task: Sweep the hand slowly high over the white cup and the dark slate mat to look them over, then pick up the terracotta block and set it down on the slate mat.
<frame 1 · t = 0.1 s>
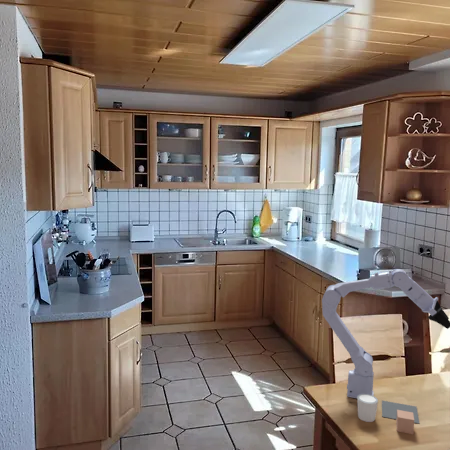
hand: (448, 323, 154), 32 cm above the table, tool tilted 50°, fingers open, 7 cm apart
terracotta block: (404, 429, 144), on the table
white cup: (366, 418, 150), on the table
slate mat: (399, 411, 154), on the table
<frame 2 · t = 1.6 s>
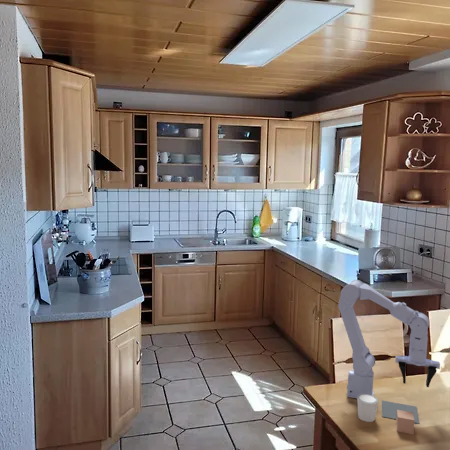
hand: (415, 384, 155), 9 cm above the table, tool pointing down, fingers open, 7 cm apart
nothing on the table moved.
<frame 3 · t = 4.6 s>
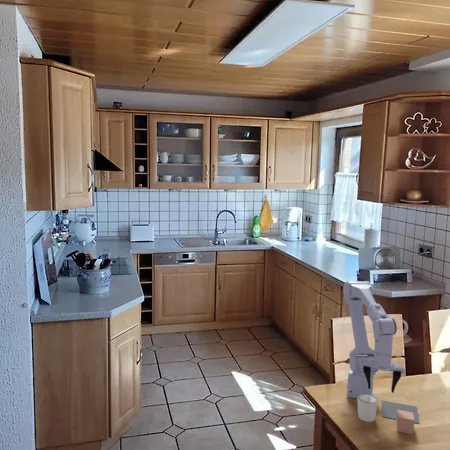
hand: (380, 389, 151), 9 cm above the table, tool pointing down, fingers open, 7 cm apart
nothing on the table moved.
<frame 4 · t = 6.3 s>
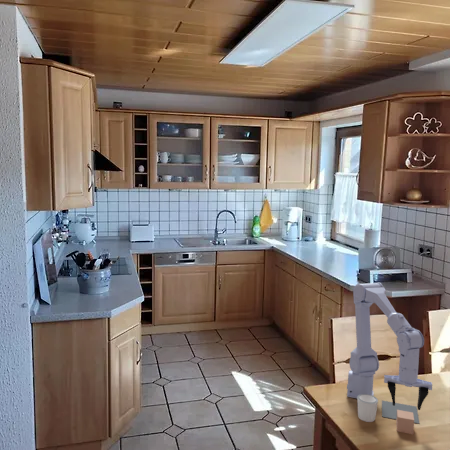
hand: (406, 406, 143), 8 cm above the table, tool pointing down, fingers open, 7 cm apart
nothing on the table moved.
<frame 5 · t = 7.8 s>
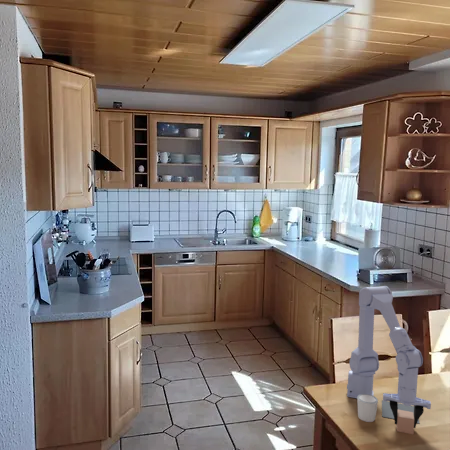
hand: (404, 424, 143), 1 cm above the table, tool pointing down, fingers closed on terracotta block, 5 cm apart
terracotta block: (404, 428, 144), on the table, touching gripper
everything else where it was.
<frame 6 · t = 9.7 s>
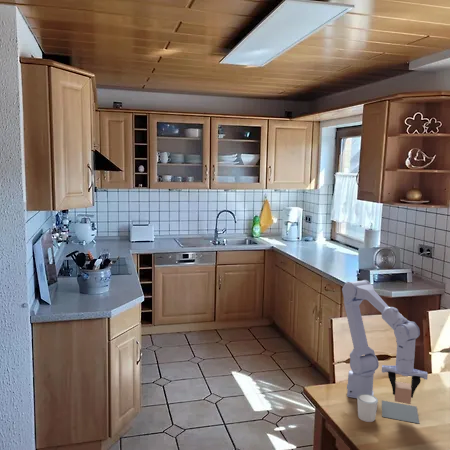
hand: (402, 394, 150), 8 cm above the table, tool pointing down, fingers closed on terracotta block, 5 cm apart
terracotta block: (402, 399, 150), point 7 cm above the table, touching gripper
everything else where it was.
when the fingers open (3 cm above the table, at t = 11.9 s): terracotta block drops 2 cm, resting on slate mat.
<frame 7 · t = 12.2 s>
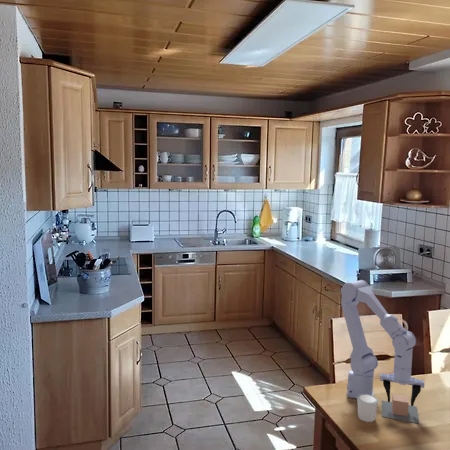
hand: (400, 402, 154), 3 cm above the table, tool pointing down, fingers open, 7 cm apart
terracotta block: (399, 411, 154), resting on slate mat
everything else where it was.
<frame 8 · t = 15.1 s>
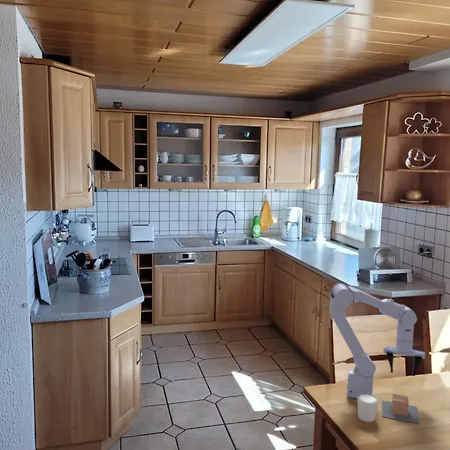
hand: (402, 373, 164), 9 cm above the table, tool pointing down, fingers open, 7 cm apart
nothing on the table moved.
at the end: terracotta block inside the target area (0.2 cm from its centre), resting on slate mat; terracotta block tilted 0°; the gripper is holding nothing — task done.
